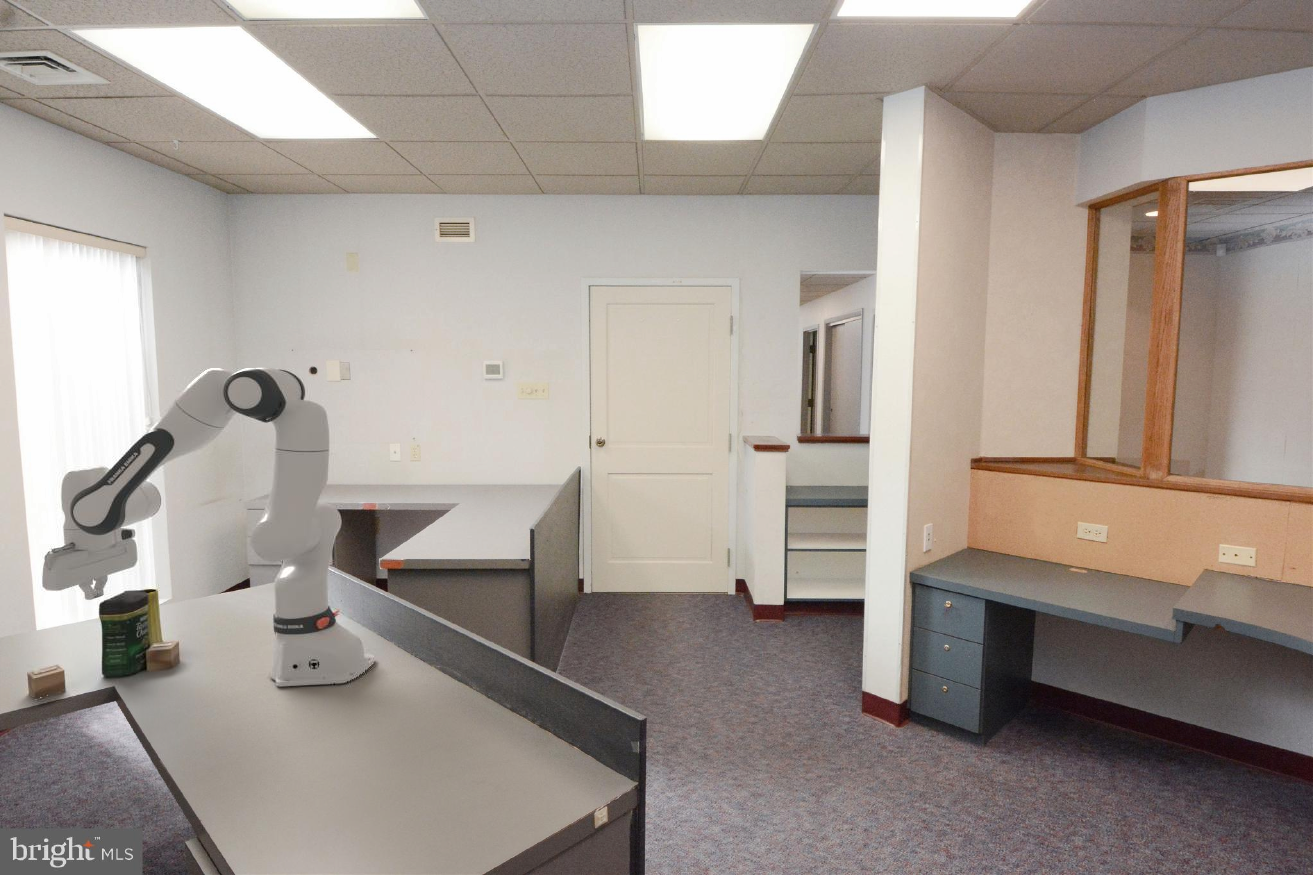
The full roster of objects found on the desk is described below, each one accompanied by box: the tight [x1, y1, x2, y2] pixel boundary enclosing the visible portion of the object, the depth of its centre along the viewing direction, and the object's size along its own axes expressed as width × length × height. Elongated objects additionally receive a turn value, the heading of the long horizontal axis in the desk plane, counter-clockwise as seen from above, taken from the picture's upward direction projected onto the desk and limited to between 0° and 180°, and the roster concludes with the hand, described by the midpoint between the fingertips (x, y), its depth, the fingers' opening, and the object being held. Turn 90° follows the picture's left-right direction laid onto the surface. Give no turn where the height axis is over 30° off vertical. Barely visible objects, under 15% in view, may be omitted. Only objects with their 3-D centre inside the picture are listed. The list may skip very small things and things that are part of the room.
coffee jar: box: [98, 589, 151, 679], centre depth 154 cm, size 10×8×19 cm
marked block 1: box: [26, 664, 67, 700], centre depth 143 cm, size 5×5×5 cm
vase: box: [142, 588, 164, 646], centre depth 169 cm, size 6×6×14 cm
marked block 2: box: [146, 640, 181, 672], centre depth 157 cm, size 5×5×5 cm
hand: (94, 597), depth 149 cm, fingers closed
